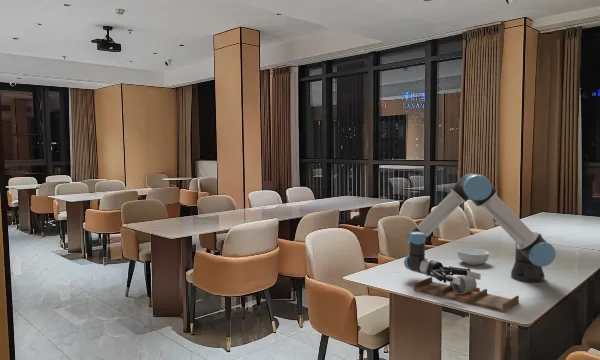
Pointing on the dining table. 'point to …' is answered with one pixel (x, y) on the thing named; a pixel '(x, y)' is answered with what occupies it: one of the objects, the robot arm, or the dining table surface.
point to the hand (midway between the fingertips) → (470, 279)
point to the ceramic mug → (464, 285)
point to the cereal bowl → (473, 256)
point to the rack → (467, 295)
